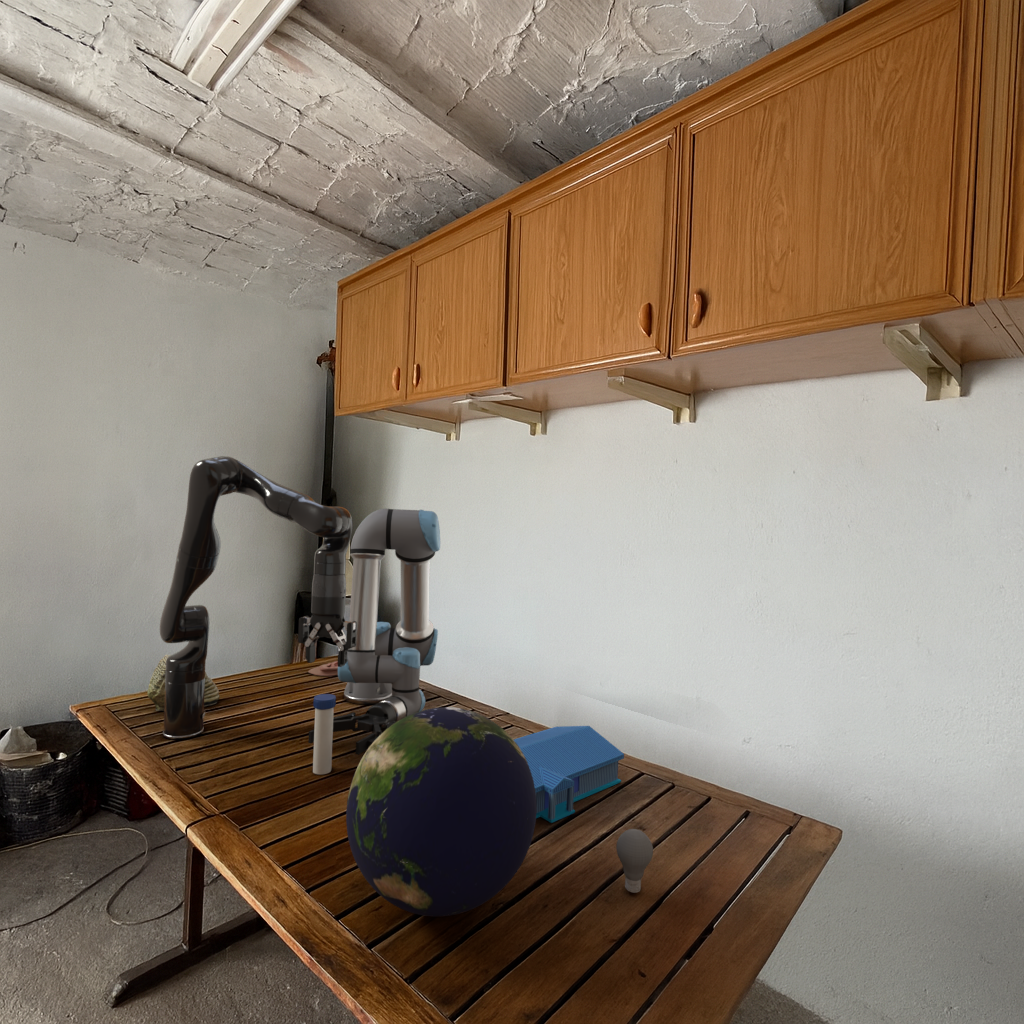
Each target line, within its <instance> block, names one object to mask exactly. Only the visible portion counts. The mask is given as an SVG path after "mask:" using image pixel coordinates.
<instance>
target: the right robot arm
mask: <svg viewBox="0 0 1024 1024" xmlns="http://www.w3.org/2000/svg"><path fill="white" fill-rule="evenodd" d="M350 543H351V544H350V551H349V556H350V557H351V558H352V560H353V561H352V562H353V563H352V578H351V591H350V604H349V605H350V608H349V621H348V622H352V621H356V622H357V638H356V646H355V647H352V648H350V649H348V654H347V663H346V664H345V665H344V666H342V667H338V675H337V678H338V680H339V681H340V682H341V683H346V686H345V688H344V691H343V699H344V701H346V702H348V703H351V704H355V705H356V704H357V705H371V706H369V708H367V710H366V712H365V713H364V714H361V715H356V712H354V711H353V712H350V713H347V714H343V715H338V716H333V733H336V732H337V733H338V732H345V731H352V732H360V731H362V732H367V733H370V732H371V733H370V734H368V735H367V736H365V737H363V738H362V739H360V740H358V741H356V742H355V755H358V756H359V755H360V754H362V753H364V752H366V751H367V750H368V748H369V747H370V746H371V744H372V743H373V742H374V741H375V740H376V739H377V738H378V737H379V736H380V735H381V734H382V733H383V732H384V731H385V730H386V729H388V728H389V727H390V726H392V725H393V724H394V723H396V722H398V721H399V720H401V719H403V718H405V717H407V716H409V715H411V714H414V713H416V712H419V711H423V710H424V708H425V706H426V697H425V694H424V692H423V691H422V690H421V689H420V679H421V678H420V676H421V667H422V666H430V665H432V664H433V663H434V660H435V655H436V650H437V643H438V638H439V637H438V635H439V630H438V629H437V628H434V624H433V623H432V621H431V620H430V574H431V573H430V571H431V568H430V567H431V564H430V563H431V560H432V559H434V558H435V556H436V552H440V550H441V529H440V521H439V517H438V515H437V513H436V512H434V511H432V510H424V509H419V510H418V509H401V508H400V509H398V508H380V509H377V510H374V511H373V512H370V513H369V514H368V515H367V516H366V517H365V518H363V519H362V521H361V522H360V523H359V525H358V527H357V528H356V529H355V532H354V534H353V537H352V540H351V542H350ZM386 550H391V551H392V550H393V551H394V554H395V557H396V558H397V559H398V560H399V561H400V621H398V623H397V624H396V626H395V627H392V625H391V623H390V622H388V621H378V613H379V611H378V610H379V595H380V579H381V561H382V560H383V559H384V558H385V556H386ZM356 726H357V727H356ZM308 744H314V728H313V729H311V730H309V731H308Z"/></svg>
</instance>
